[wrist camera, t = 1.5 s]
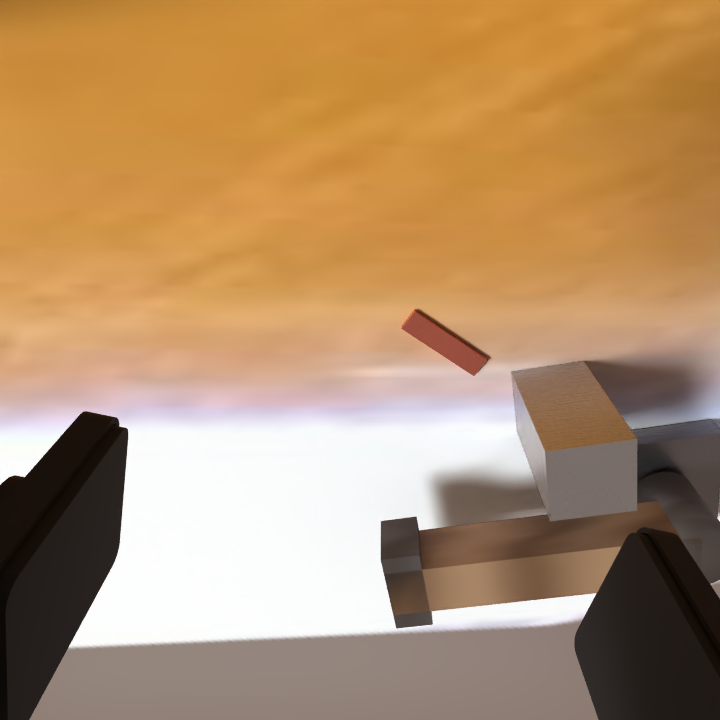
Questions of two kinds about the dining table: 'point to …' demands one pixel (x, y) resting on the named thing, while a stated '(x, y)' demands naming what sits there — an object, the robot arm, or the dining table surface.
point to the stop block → (575, 442)
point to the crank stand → (654, 445)
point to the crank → (534, 552)
